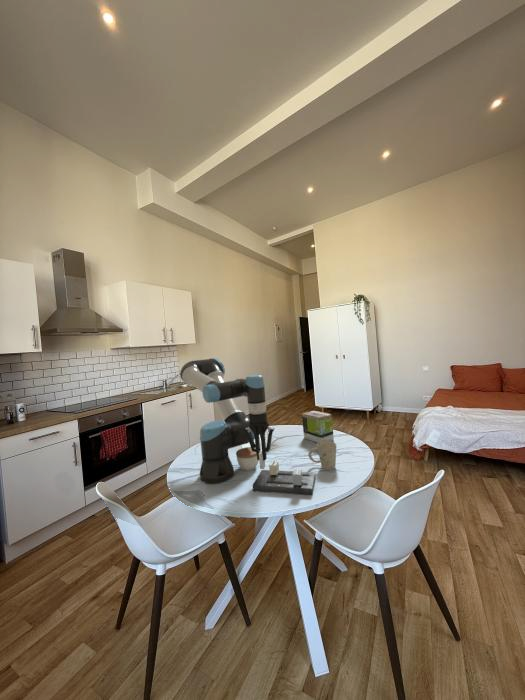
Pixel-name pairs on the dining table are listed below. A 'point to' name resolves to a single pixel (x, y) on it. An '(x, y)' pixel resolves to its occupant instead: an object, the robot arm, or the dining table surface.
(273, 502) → the dining table surface
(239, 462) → the lidded jar
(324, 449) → the mug
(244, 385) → the robot arm
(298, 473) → the fader right
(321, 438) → the tea box
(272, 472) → the fader left
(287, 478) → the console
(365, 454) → the dining table surface
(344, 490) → the dining table surface
